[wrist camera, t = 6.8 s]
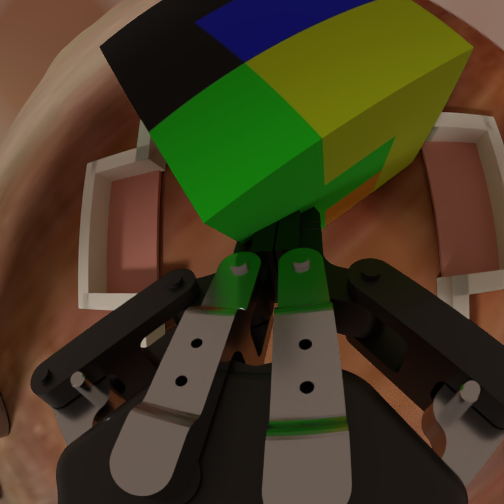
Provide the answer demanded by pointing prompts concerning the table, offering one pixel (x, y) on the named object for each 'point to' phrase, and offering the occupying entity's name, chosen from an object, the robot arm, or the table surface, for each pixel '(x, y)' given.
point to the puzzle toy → (285, 99)
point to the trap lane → (441, 188)
